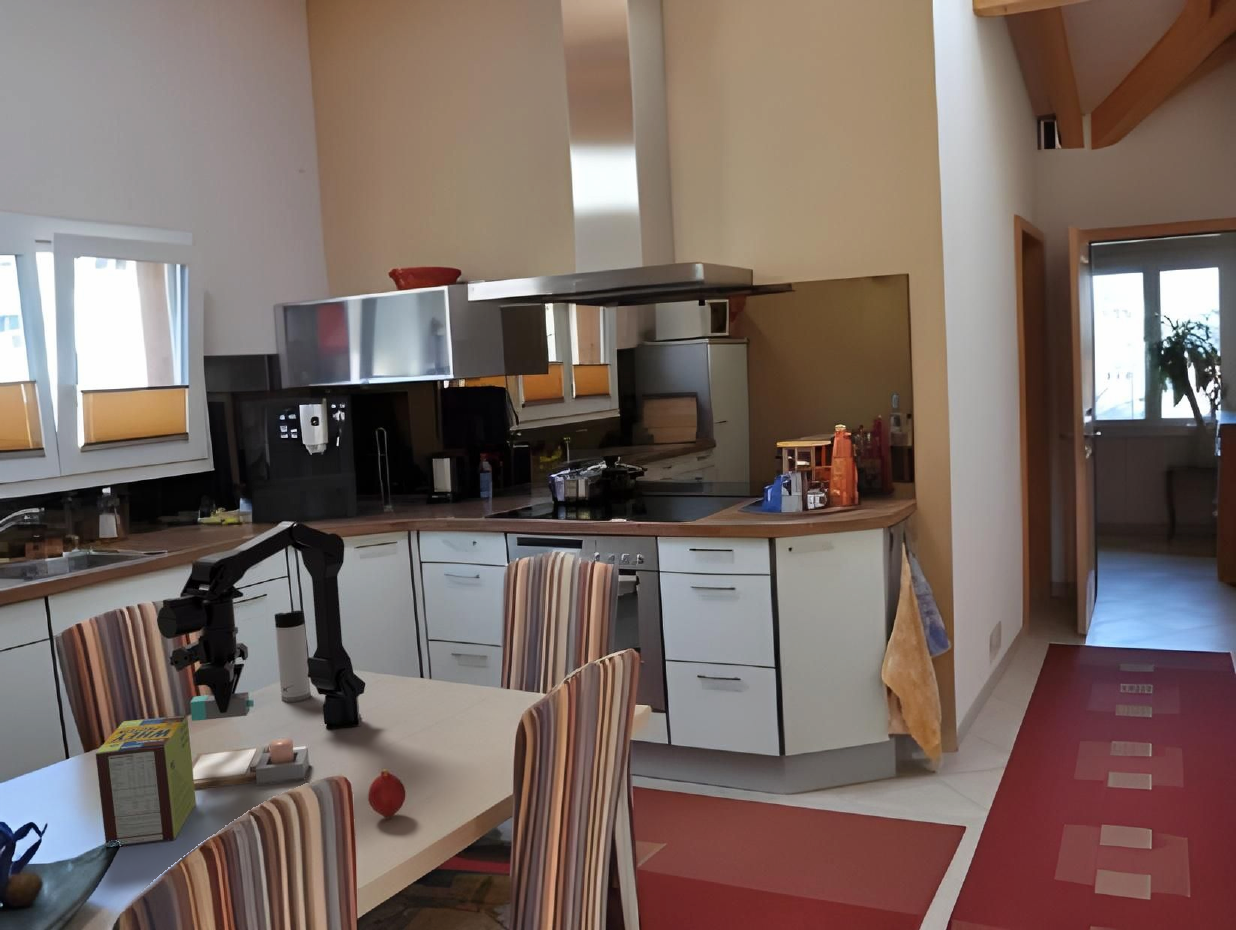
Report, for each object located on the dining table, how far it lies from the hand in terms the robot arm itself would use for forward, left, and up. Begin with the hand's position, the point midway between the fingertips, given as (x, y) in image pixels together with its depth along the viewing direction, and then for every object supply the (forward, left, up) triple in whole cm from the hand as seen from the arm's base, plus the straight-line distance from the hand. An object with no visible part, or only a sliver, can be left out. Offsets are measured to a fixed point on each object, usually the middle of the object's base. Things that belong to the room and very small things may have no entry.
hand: (225, 709), depth 197 cm
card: (-10, -5, -11) cm, 16 cm away
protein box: (+8, +22, -12) cm, 26 cm away
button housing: (-10, +6, -11) cm, 16 cm away
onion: (-30, +31, -11) cm, 45 cm away
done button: (-10, +6, -9) cm, 15 cm away
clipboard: (+1, 0, -11) cm, 11 cm away
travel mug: (-7, -42, -11) cm, 44 cm away
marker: (+1, 0, -1) cm, 1 cm away
